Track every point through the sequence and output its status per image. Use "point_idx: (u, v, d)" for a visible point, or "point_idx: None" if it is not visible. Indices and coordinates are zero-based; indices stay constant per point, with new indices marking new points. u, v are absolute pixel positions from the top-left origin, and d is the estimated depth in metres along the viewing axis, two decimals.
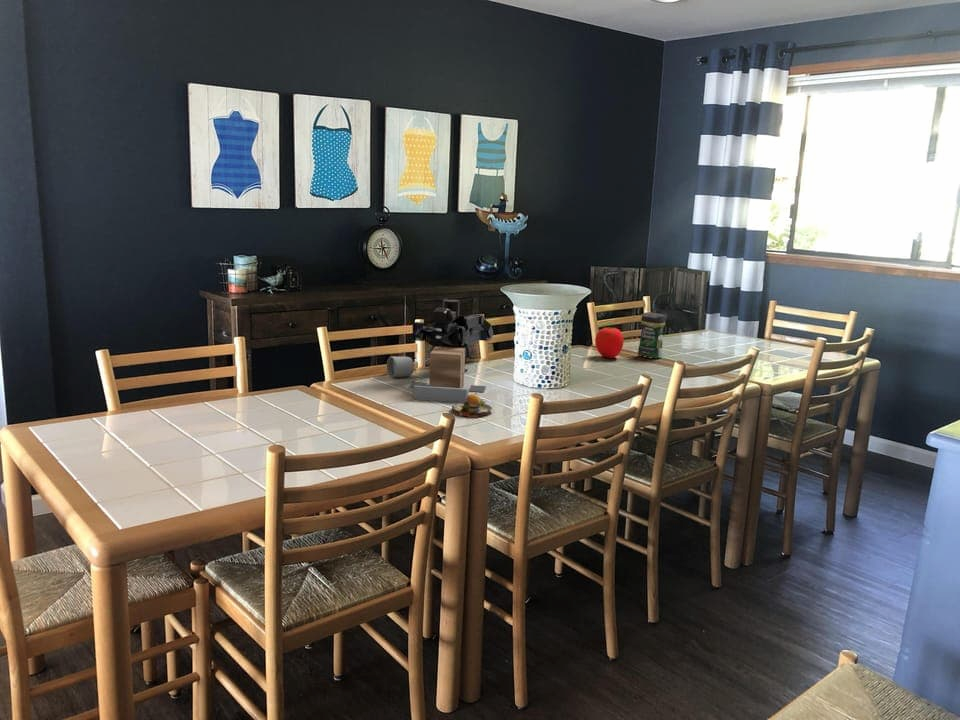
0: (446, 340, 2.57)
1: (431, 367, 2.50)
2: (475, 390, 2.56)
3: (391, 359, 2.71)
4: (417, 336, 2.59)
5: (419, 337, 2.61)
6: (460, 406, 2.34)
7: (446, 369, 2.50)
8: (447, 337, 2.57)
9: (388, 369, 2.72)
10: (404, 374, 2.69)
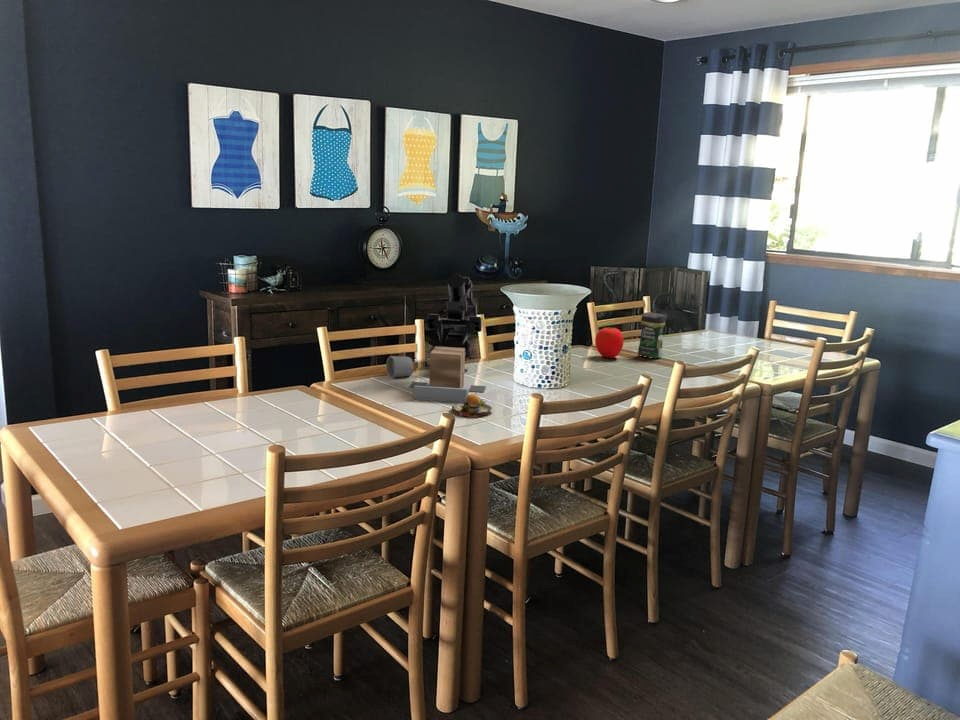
0: (466, 338, 2.66)
1: (431, 367, 2.50)
2: (475, 390, 2.56)
3: (391, 359, 2.71)
4: (441, 340, 2.65)
5: None
6: (460, 406, 2.34)
7: (446, 369, 2.50)
8: (466, 336, 2.65)
9: (388, 369, 2.72)
10: (404, 374, 2.69)
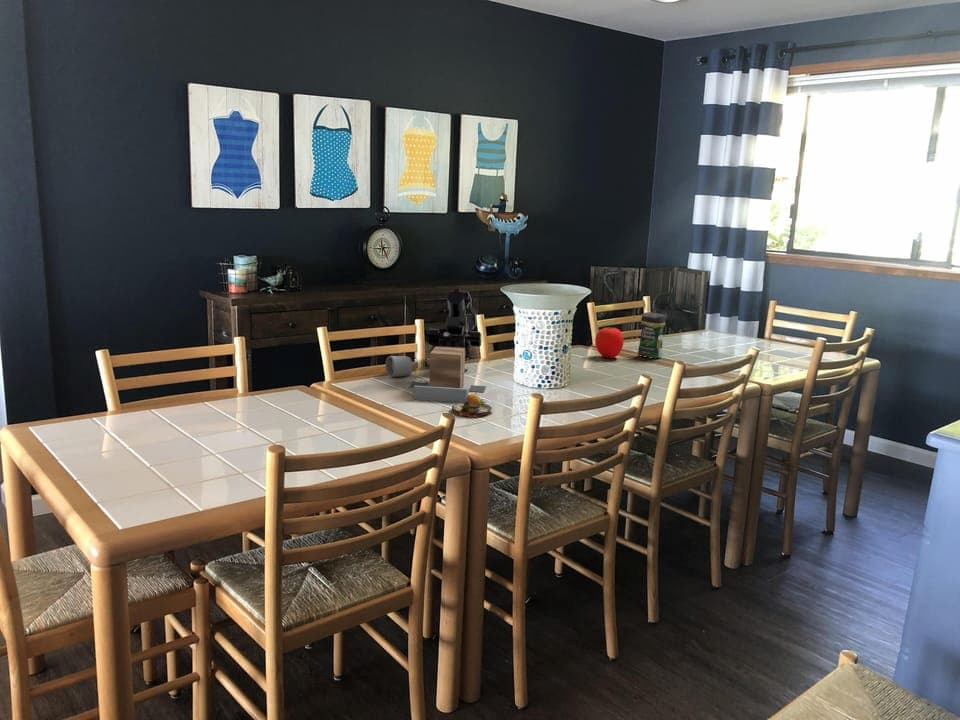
0: None
1: (431, 367, 2.50)
2: (475, 390, 2.56)
3: (390, 359, 2.72)
4: None
5: None
6: (460, 406, 2.34)
7: (446, 369, 2.50)
8: None
9: (387, 369, 2.73)
10: (403, 374, 2.70)
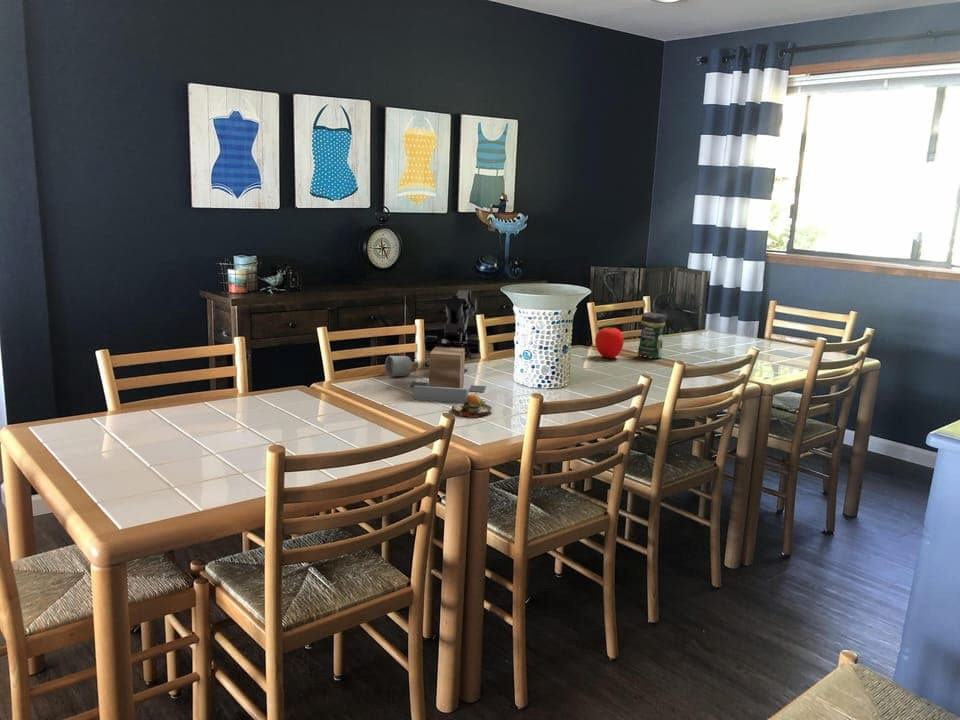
0: None
1: (431, 367, 2.49)
2: (475, 390, 2.56)
3: (389, 358, 2.72)
4: None
5: None
6: (460, 406, 2.34)
7: (446, 369, 2.49)
8: None
9: (386, 368, 2.73)
10: (402, 373, 2.70)
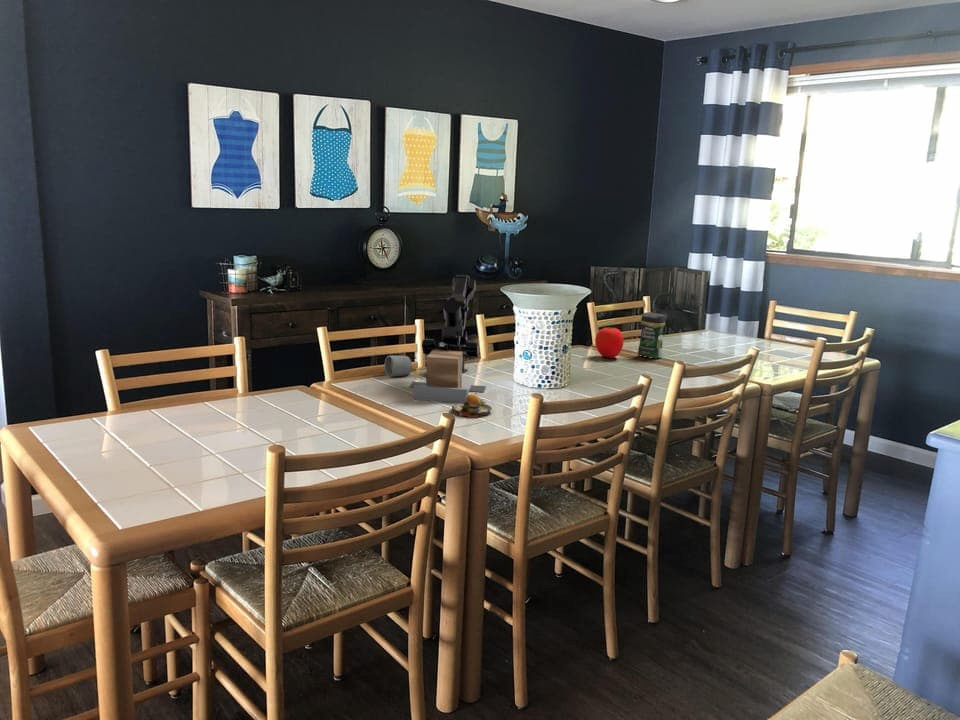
0: None
1: (428, 371, 2.44)
2: (475, 390, 2.56)
3: (389, 358, 2.73)
4: None
5: None
6: (460, 406, 2.34)
7: (444, 373, 2.44)
8: None
9: (386, 368, 2.73)
10: (402, 373, 2.71)
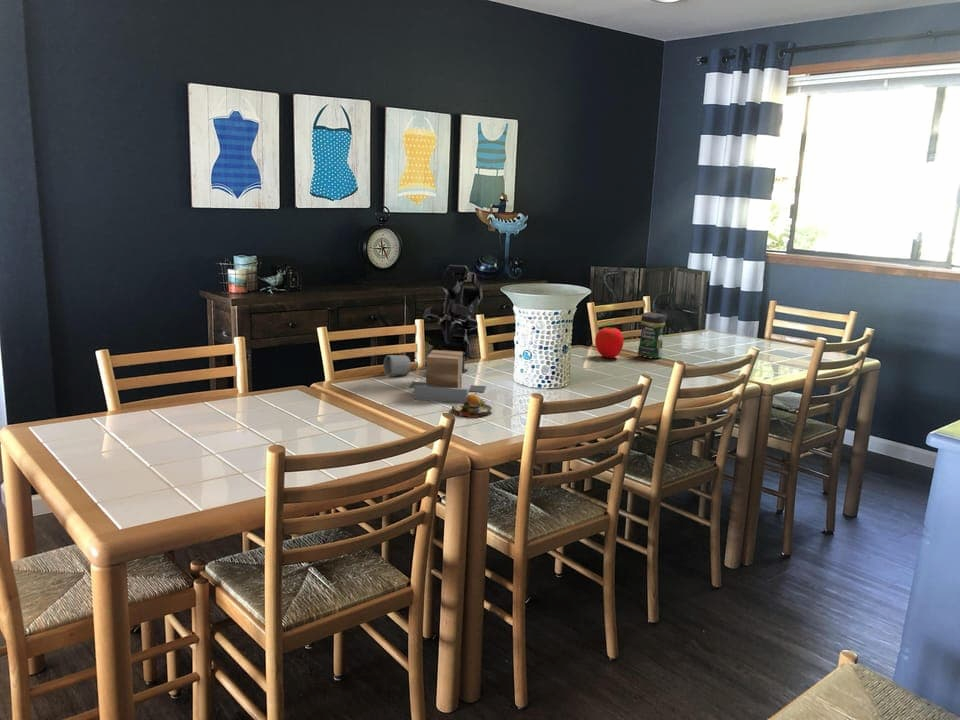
0: None
1: (428, 371, 2.44)
2: (475, 390, 2.56)
3: (388, 358, 2.73)
4: None
5: None
6: (460, 406, 2.34)
7: (444, 373, 2.44)
8: None
9: (385, 368, 2.74)
10: (401, 373, 2.71)
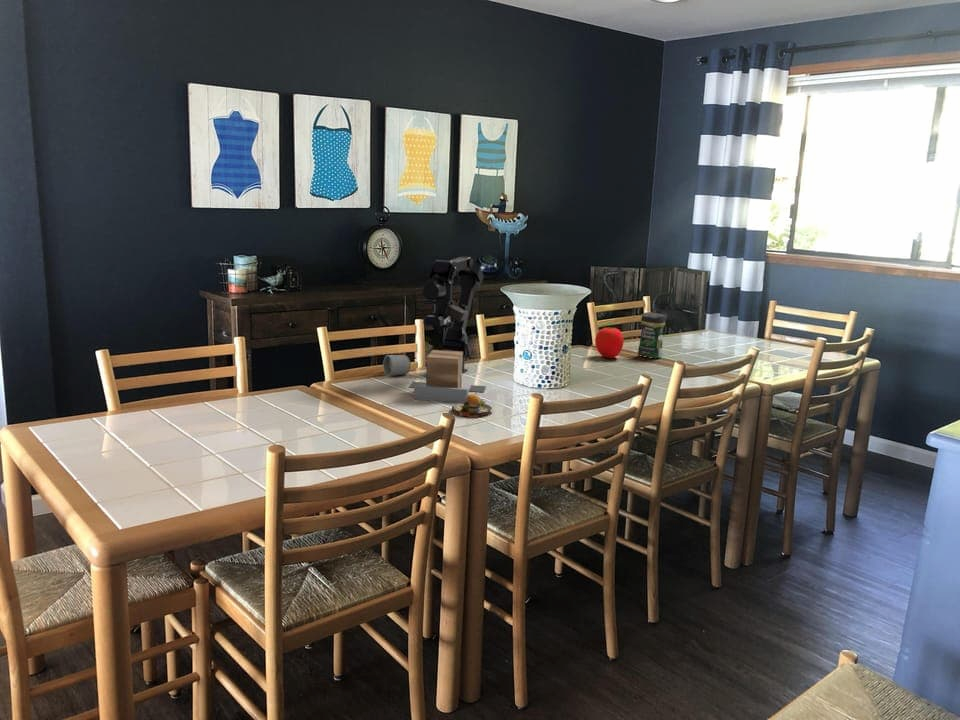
0: None
1: (428, 371, 2.44)
2: (475, 390, 2.56)
3: (388, 357, 2.73)
4: None
5: None
6: (460, 406, 2.34)
7: (444, 373, 2.44)
8: None
9: (385, 367, 2.74)
10: (400, 372, 2.71)
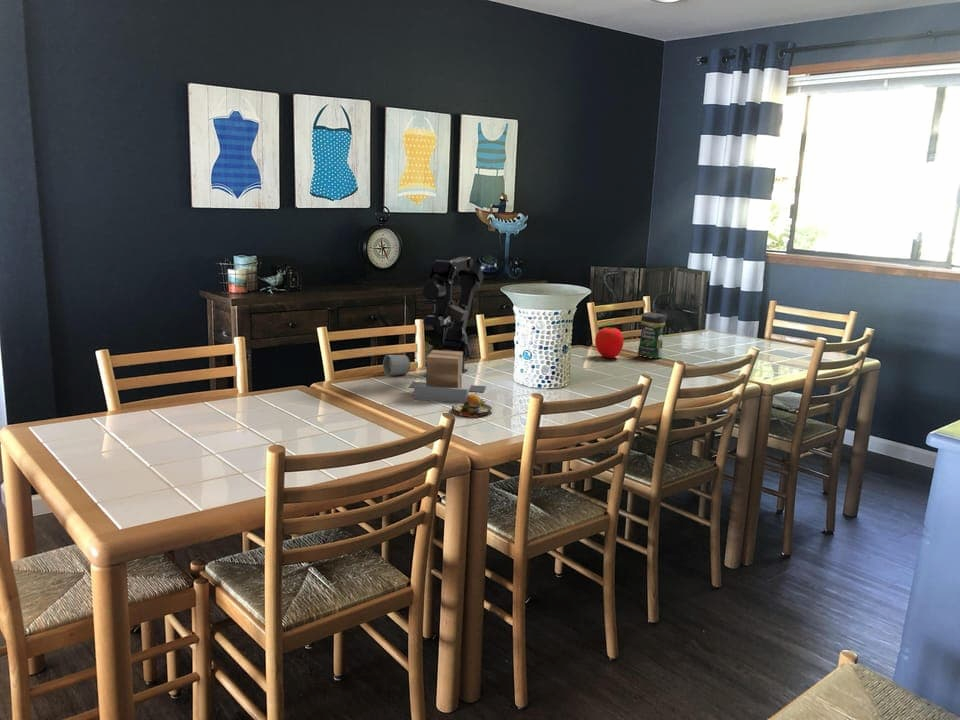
0: None
1: (428, 371, 2.44)
2: (475, 390, 2.56)
3: (387, 357, 2.74)
4: None
5: None
6: (460, 406, 2.34)
7: (444, 373, 2.44)
8: None
9: (384, 367, 2.74)
10: (400, 372, 2.72)
